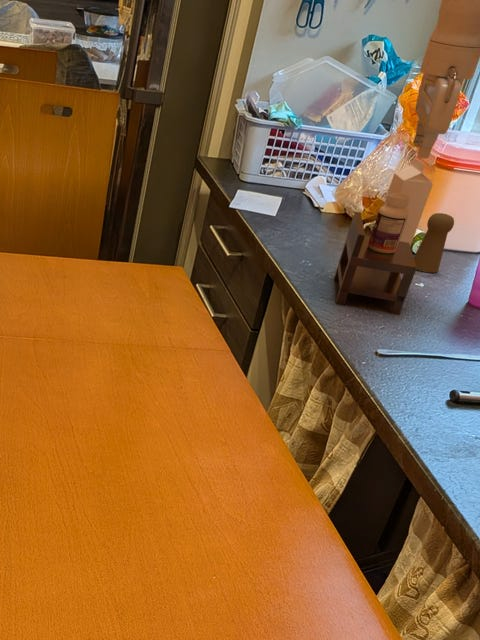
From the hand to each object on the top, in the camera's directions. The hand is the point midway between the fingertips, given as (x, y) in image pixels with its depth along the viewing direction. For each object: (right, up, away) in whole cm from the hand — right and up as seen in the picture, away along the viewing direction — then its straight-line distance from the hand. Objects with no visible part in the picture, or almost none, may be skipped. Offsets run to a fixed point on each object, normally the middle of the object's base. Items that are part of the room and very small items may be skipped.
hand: (419, 151), depth 168 cm
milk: (+5, -11, +29) cm, 31 cm away
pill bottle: (-2, -13, +11) cm, 18 cm away
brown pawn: (+17, -7, +35) cm, 39 cm away
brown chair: (-3, -20, +17) cm, 26 cm away
